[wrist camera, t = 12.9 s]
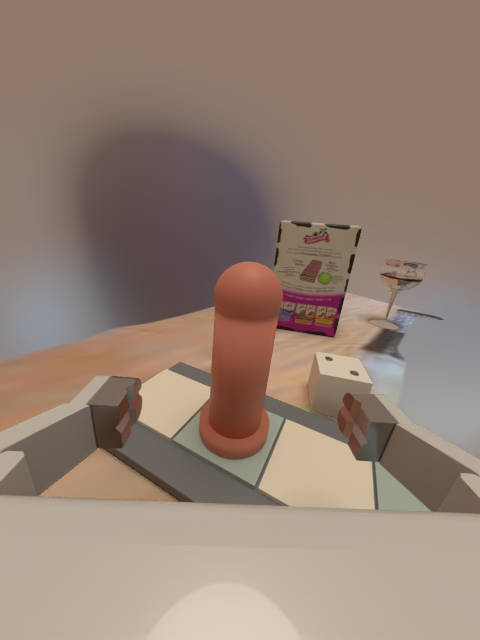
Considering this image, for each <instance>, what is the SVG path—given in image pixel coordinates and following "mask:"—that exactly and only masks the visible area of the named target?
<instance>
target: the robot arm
mask: <svg viewBox="0 0 480 640" xmlns="http://www.w3.org/2000/svg"><path fill="white" fill-rule="evenodd" d="M140 389H141V380H140V379H139V378H130V377H119V376H106V375H98V376H96V377H94V378H93V379H92V380H91V381H90V383H89V384H88V385H87V386H86V387H85V388H84V389H83V390H82V391H81V392H80V393H79V394H78V395H77V396H76V397H75V398H74V399H73V400H72V401H71V402H70V403H69V404H62V405H59V406H57V407H55V408H53V409H50V410H48V411H46V412H44V413H42V414H39V415H37V416H35V417H33V418H30V419H28V420H26V421H24V422H21V423H19V424H17V425H15V426H13V427H10V428H8V429H6V430H4V431H1V432H0V640H480V460H479V459H477V458H475V457H474V456H472V455H470V454H469V453H467V452H465V451H463V450H462V449H460V448H458V447H456V446H455V445H453V444H451V443H449V442H447V441H446V440H444V439H442V438H440V437H439V436H437V435H435V434H433V433H431V432H430V431H428V430H426V429H424V428H422V427H421V426H419V425H414V424H413V423H412V422H411V421H410V420H409V419H408V418H407V417H406V416H405V415H404V413H403V412H402V411H401V410H400V409H399V408H398V407H397V406H396V405H395V404H394V403H393V402H392V401H391V400H390V399H389V398H388V397H387V396H386V395H384V394H360V393H346V394H345V395H344V397H343V400H342V401H343V403H344V406H343V407H342V408H341V409H340V410H339V413H338V426H339V429H340V431H341V433H342V435H344V436H345V437H346V438H347V439H349V441H348V446H349V448H350V450H351V451H352V453H353V455H354V457H355V459H356V460H357V461H369V462H379V464H380V465H381V466H382V467H383V468H385V469H386V470H387V471H388V472H389V473H390V474H391V475H392V476H393V477H394V478H395V479H397V480H398V481H399V482H400V483H401V484H402V485H403V486H404V487H405V488H406V489H407V490H409V491H410V492H411V493H412V494H413V495H414V496H415V497H416V498H417V499H418V500H419V501H421V502H422V503H423V504H424V505H425V506H426V507H427V508H428V509H429V510H430V511H431V512H425V511H400V510H374V509H348V508H322V507H296V506H271V505H246V504H221V503H195V502H170V501H144V500H119V499H93V498H68V497H42V496H39V495H40V494H41V493H43V492H44V491H45V490H46V489H48V488H49V487H50V486H51V485H53V484H54V483H55V482H56V481H58V480H59V479H60V478H62V477H63V476H64V475H65V474H67V473H68V472H69V471H70V470H72V469H73V468H74V467H75V466H77V465H78V464H79V463H80V462H82V461H83V460H84V459H85V458H87V457H88V456H89V455H91V454H92V453H93V452H94V451H96V450H97V448H123V447H124V445H125V443H126V442H127V440H128V438H129V436H130V434H131V426H132V425H134V424H135V423H136V422H137V420H138V418H139V416H140V413H141V409H142V396H141V395H140V394H139V391H140Z"/></svg>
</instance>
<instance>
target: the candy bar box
mask: <svg viewBox="0 0 480 640" xmlns="http://www.w3.org/2000/svg"><path fill="white" fill-rule="evenodd" d="M361 229H362V227H360V226H349V225H335V224H322V223H309V222H296V221H281V222H280V226H279V234H278V242H277V249H276V257H275V264H274V272H273V273H274V274H275V275H276V276H277V278H278V279H279V281H280V283H281V286H282V291H283V302H282V306H281V309H280V312H279V315H278V321H277V327H276V328H280V329H287V330H293V331H300V332H306V333H313V334H320V335H326V336H335V333H336V330H337V326H338V322H339V318H340V313H341V310H342V306H343V301H344V297H345V293H346V289H347V285H348V281H349V278H350V273H351V269H352V265H353V262H354V258H355V253H356V249H357V245H358V242H359V238H360V233H361Z"/></svg>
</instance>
